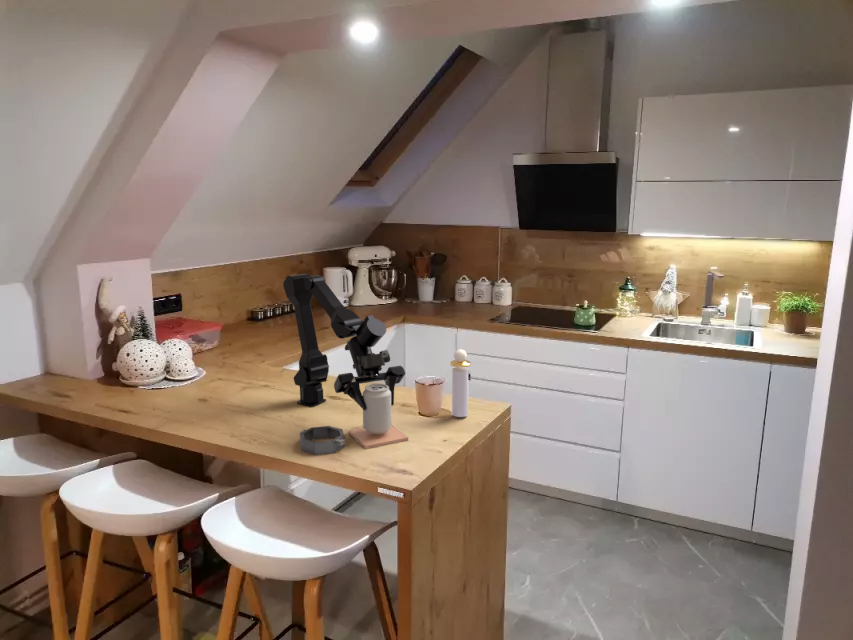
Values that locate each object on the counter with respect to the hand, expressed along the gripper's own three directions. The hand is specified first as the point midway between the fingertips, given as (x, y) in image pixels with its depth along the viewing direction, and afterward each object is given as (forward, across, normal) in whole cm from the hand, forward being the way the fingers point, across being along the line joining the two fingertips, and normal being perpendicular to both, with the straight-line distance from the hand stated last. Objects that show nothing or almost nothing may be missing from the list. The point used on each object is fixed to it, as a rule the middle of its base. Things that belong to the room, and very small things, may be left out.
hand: (379, 407), depth 168 cm
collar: (+4, -15, +8) cm, 17 cm away
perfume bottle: (+4, +27, +9) cm, 28 cm away
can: (+4, 0, +6) cm, 7 cm away
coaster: (+5, 0, +7) cm, 9 cm away
